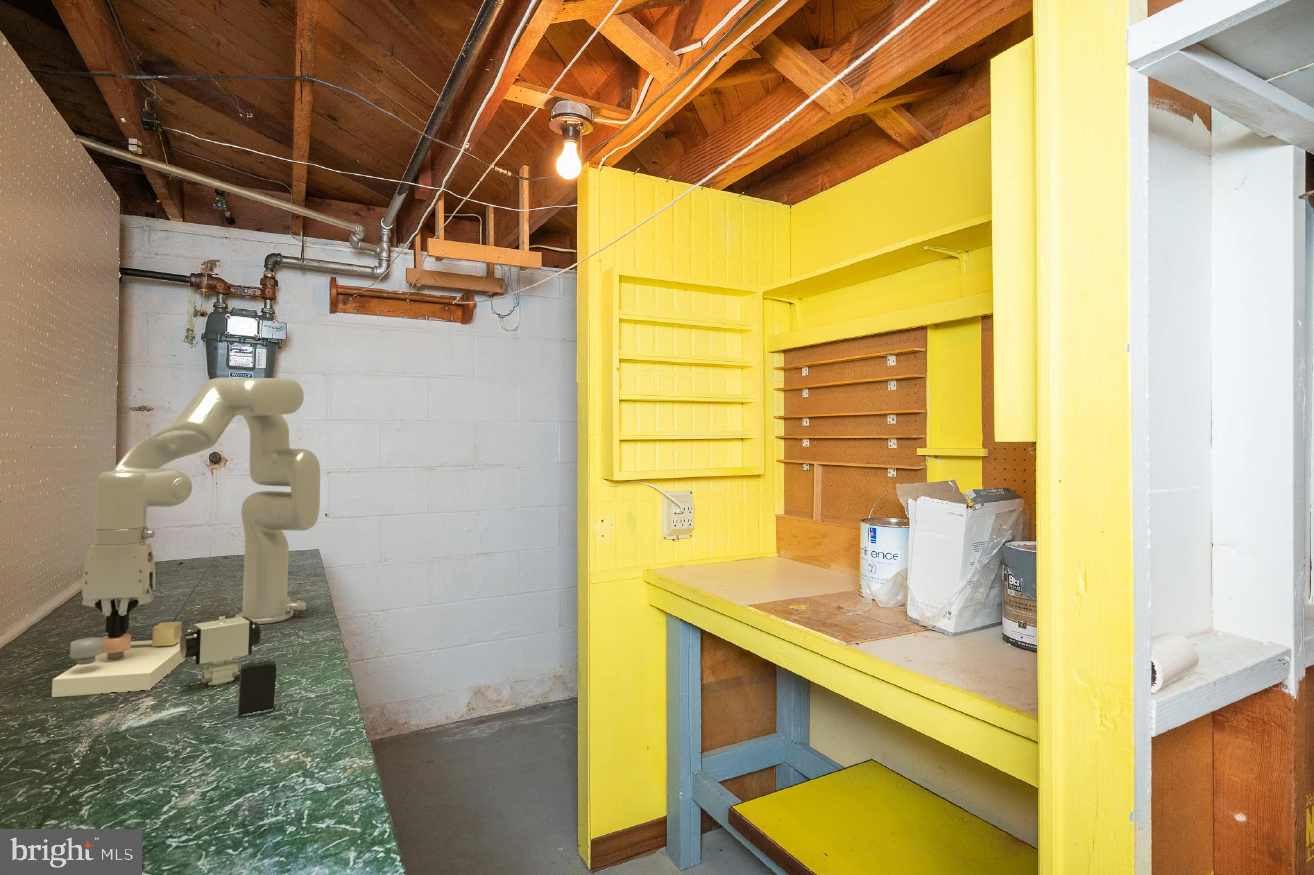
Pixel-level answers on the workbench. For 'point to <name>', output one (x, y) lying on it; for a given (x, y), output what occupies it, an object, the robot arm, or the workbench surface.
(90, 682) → the control panel
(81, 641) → the grey button
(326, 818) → the workbench surface
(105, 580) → the robot arm
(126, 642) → the terracotta button
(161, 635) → the brass slider
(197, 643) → the pneumatic valve
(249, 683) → the ink cartridge
